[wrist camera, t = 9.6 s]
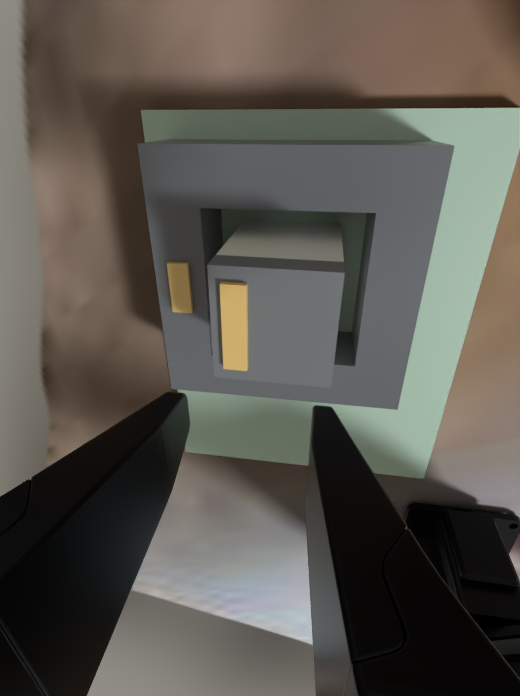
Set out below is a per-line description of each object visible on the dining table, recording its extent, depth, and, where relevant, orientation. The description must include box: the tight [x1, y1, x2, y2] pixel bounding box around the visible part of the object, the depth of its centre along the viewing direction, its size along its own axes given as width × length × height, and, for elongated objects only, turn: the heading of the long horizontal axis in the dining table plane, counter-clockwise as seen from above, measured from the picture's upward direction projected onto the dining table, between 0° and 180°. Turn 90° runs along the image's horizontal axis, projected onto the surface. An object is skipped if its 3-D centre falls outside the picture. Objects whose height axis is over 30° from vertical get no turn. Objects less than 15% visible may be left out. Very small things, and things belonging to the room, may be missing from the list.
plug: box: [207, 220, 345, 388], centre depth 15 cm, size 4×4×6 cm
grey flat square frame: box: [137, 139, 455, 410], centre depth 16 cm, size 10×10×3 cm
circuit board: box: [141, 108, 520, 479], centre depth 19 cm, size 18×14×1 cm
